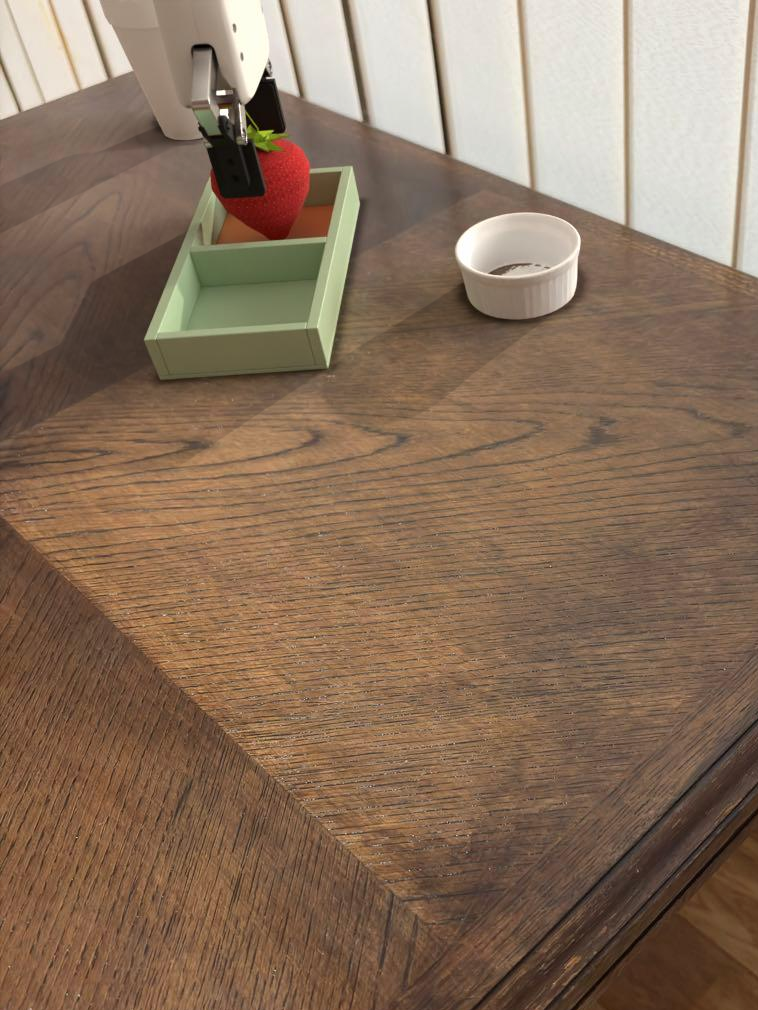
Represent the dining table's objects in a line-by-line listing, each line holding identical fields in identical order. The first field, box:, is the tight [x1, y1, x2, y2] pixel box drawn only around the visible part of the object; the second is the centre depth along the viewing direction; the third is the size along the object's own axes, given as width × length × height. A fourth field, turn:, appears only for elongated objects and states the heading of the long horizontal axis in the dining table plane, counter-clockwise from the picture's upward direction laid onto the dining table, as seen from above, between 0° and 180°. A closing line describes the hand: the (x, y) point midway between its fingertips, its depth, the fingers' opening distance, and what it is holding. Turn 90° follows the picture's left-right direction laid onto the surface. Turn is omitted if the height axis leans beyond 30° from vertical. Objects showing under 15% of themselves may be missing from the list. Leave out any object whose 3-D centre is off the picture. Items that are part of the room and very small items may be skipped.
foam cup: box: [99, 0, 230, 141], centre depth 97 cm, size 10×9×13 cm
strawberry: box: [209, 111, 311, 241], centre depth 80 cm, size 6×8×10 cm
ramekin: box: [454, 212, 582, 320], centre depth 76 cm, size 9×9×4 cm
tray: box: [143, 165, 361, 381], centre depth 79 cm, size 12×22×4 cm, turn 1°
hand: (255, 162), depth 79 cm, fingers open, 9 cm apart
